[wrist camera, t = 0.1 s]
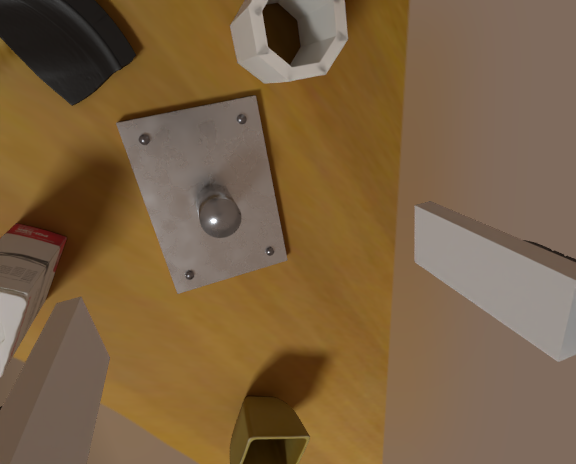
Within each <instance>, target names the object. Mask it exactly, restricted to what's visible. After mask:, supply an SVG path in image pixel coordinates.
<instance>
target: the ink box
mask: <svg viewBox="0 0 576 464" xmlns="http://www.w3.org/2000/svg"><path fill="white" fill-rule="evenodd" d="M66 239H67V238H66V237H65V236H62V235H59V234H56V233H53V232H50V231H46V230H43V229H39V228H35V227H31V226H27V225H22V224H18V223H16V224H15V225H14V226H13V227H12V228H11V229H10V230H9V231H7V232H6V233H5V234H4V235H3V236H2V237H1V238H0V377H1V376H2V375H3V373H4V371H5V369H6V367H7V366H8V364H9V362H10V360H11V359H12V357H13V355H14V354H15V352H16V350H17V348H18V347H19V345H20V343H21V341H22V340H23V338H24V336H25V334H26V333H27V331H28V329H29V328H30V326H31V324H32V322H33V321H34V319H35V317H36V316H37V314H38V312H39V311H40V309H41V307H42V306H43V304H44V302H45V300H46V297H47V294H48V292H49V289H50V286H51V283H52V280H53V277H54V274H55V271H56V268H57V265H58V262H59V259H60V257H61V254H62V251H63V248H64V245H65V243H66Z"/></svg>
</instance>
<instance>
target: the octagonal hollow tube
mask: <svg viewBox="0 0 576 464" xmlns="http://www.w3.org/2000/svg"><path fill="white" fill-rule="evenodd" d="M273 3H279V4H280V5H281V6H282V7H283V8H284V9H285V10H286V11H287V12H288V13H290V14H291V15H292V16H293V17H294V18H295V19H296V20H297V23H298V31H299V38H300V46H301V48H300V49H299V51H298V52H297V54H296V56H295V57H294V59H293V61H292V62H291V64H290V65H289V64H288V63H286V62H285V61H284V60H283V59H282V58H280V57H279V56H278V55H277V54H276V53H274V52H273V51H272V50H271V49H270V48H268V43H267V38H266V32H265V26H264V20H263V14H262V10H263V9H264V7H265V5H266V4H273ZM230 28H231V33H232V38H233V43H234V48H235V53H236V57H237V63H239V64H240V65H241V66H242V67H244V68H245V69H246V70H248V71H249V72H250V73H251V74H253V75H254V76H255V77H257V78H258V79H259V80H261V81H262V82H263V83H276V82H290V81H293V80H298V79H304V78H309V77H314V76H319V75H326V73H327V72H328V70H329V68H330V67H331V65H332V64H333V62H334V60H335V59H336V57H337V56H338V54H339V53H340V51H341V49H342V48H343V46H344V45H345V43H346V42H347V40H348V35H347V23H346V11H345V0H245V1H244V3H243V4H242V6H241V8H240V9H239V11H238V13H237V15H236V16H235V18H234V20H233V22H232V23H231V25H230Z"/></svg>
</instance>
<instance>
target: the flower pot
mask: <svg viewBox="0 0 576 464" xmlns="http://www.w3.org/2000/svg"><path fill="white" fill-rule="evenodd" d="M309 439H310V436H309V434H308V433H307V431H306V429H305V427H304V426H303V424H302V422H301V421H300V419H299V417H298V416H297V414H296V413H295V411H294V410H293V409H292V408H291V407H290V406H289V405H288V404H287V403H285V402H284V401H282V400H280V399H278V398H275V397H254V396H248V397H246V398H245V399H244V402H243V405H242V408H241V411H240V413H239V416H238V419H237V421H236V424H235V427H234V430H233V434H232V438H231V443H230V464H299V461H300V459H301V457H302V455H303V453H304V451H305V448H306V446H307V444H308V442H309Z"/></svg>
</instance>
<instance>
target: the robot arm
mask: <svg viewBox="0 0 576 464" xmlns="http://www.w3.org/2000/svg"><path fill="white" fill-rule="evenodd" d="M415 262H416V263H417V264H418V265H420V266H421V267H423V268H424V269H426V270H427V271H429V272H430V273H431V274H433V275H435V276H436V277H437V278H439V279H440V280H441V281H443V282H444V283H446V284H447V285H449V286H450V287H451V288H453V289H454V290H456V291H457V292H459V293H460V294H461V295H463V296H465V297H466V298H467V299H469V300H470V301H472V302H473V303H474V304H476V305H477V306H479V307H480V308H482V309H483V310H485V311H486V312H488V313H489V314H490V315H492V316H493V317H494V318H496V319H497V320H499V321H500V322H502V323H503V324H505V325H506V326H508V327H509V328H510V329H512V330H513V331H515V332H516V333H517V334H519V335H520V336H522V337H523V338H525V339H526V340H527V341H529V342H530V343H532V344H533V345H535V346H536V347H538V348H539V349H540V350H542V351H543V352H545V353H546V354H548V355H549V356H550V357H552V358H553V359H555V360H556V361H558V362H559V361H562V360H564V359H566V358H569V357H571V356H573V355H576V259H574V258H571V257H568V256H564V254H561V253H559V252H557V251H552V250H551V249H549V248H547V247H545V246H542V245H540V244H537V243H534V242H530V241H525V240H521V239H519V238H517V237H514V236H512V235H509V234H507V233H505V232H502V231H500V230H498V229H495V228H493V227H491V226H488V225H486V224H483V223H481V222H479V221H476V220H474V219H472V218H469V217H467V216H465V215H462V214H460V213H457V212H455V211H453V210H450V209H448V208H446V207H443V206H441V205H438V204H436V203H434V202H431V201H429V202H425V203H421V204H418V205H415ZM109 360H110V357H109V355H108V352H107V350H106V348H105V346H104V344H103V342H102V340H101V338H100V335H99V333H98V331H97V329H96V327H95V325H94V323H93V321H92V318H91V316H90V314H89V312H88V310H87V308H86V306H85V304H84V302H83V299H82V297H78V298H74V299H71V300H67V301H63V302H60V303H57V304H56V306H55V307H54V309H53V311H52V313H51V315H50V317H49V319H48V321H47V323H46V325H45V326H44V328H43V330H42V332H41V334H40V336H39V338H38V340H37V342H36V343H35V345H34V347H33V349H32V351H31V353H30V355H29V357H28V359H27V361H26V362H25V364H24V366H23V368H22V370H21V372H20V374H19V376H18V378H17V379H16V382H15V383H14V385H13V387H12V389H11V391H10V393H9V395H8V397H7V398H6V401H5V402H4V404H3V406H1V407H0V464H87V459H88V455H89V450H90V445H91V441H92V436H93V432H94V428H95V423H96V419H97V414H98V409H99V405H100V401H101V396H102V391H103V387H104V382H105V378H106V373H107V369H108V364H109Z"/></svg>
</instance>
